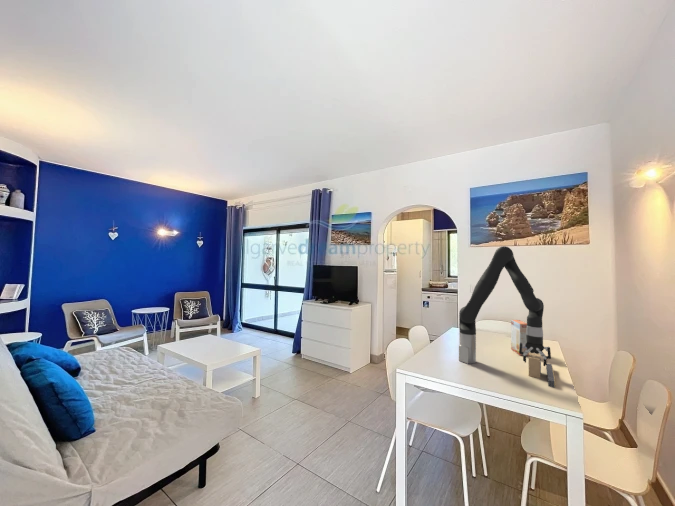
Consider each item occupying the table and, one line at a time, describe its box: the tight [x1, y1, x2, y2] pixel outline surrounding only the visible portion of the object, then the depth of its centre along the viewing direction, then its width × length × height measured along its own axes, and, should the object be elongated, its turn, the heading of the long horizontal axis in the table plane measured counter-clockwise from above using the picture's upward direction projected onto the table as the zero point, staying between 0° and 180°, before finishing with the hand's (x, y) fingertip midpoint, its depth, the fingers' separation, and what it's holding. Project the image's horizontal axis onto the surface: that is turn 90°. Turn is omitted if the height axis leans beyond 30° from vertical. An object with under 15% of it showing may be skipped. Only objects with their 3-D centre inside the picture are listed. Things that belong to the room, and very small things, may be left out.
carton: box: [528, 352, 542, 379], centre depth 152 cm, size 10×5×10 cm, turn 145°
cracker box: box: [510, 319, 530, 357], centre depth 188 cm, size 14×6×21 cm, turn 168°
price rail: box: [545, 363, 556, 388], centre depth 148 cm, size 28×3×3 cm, turn 145°
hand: (534, 363), depth 152 cm, fingers open, 8 cm apart
